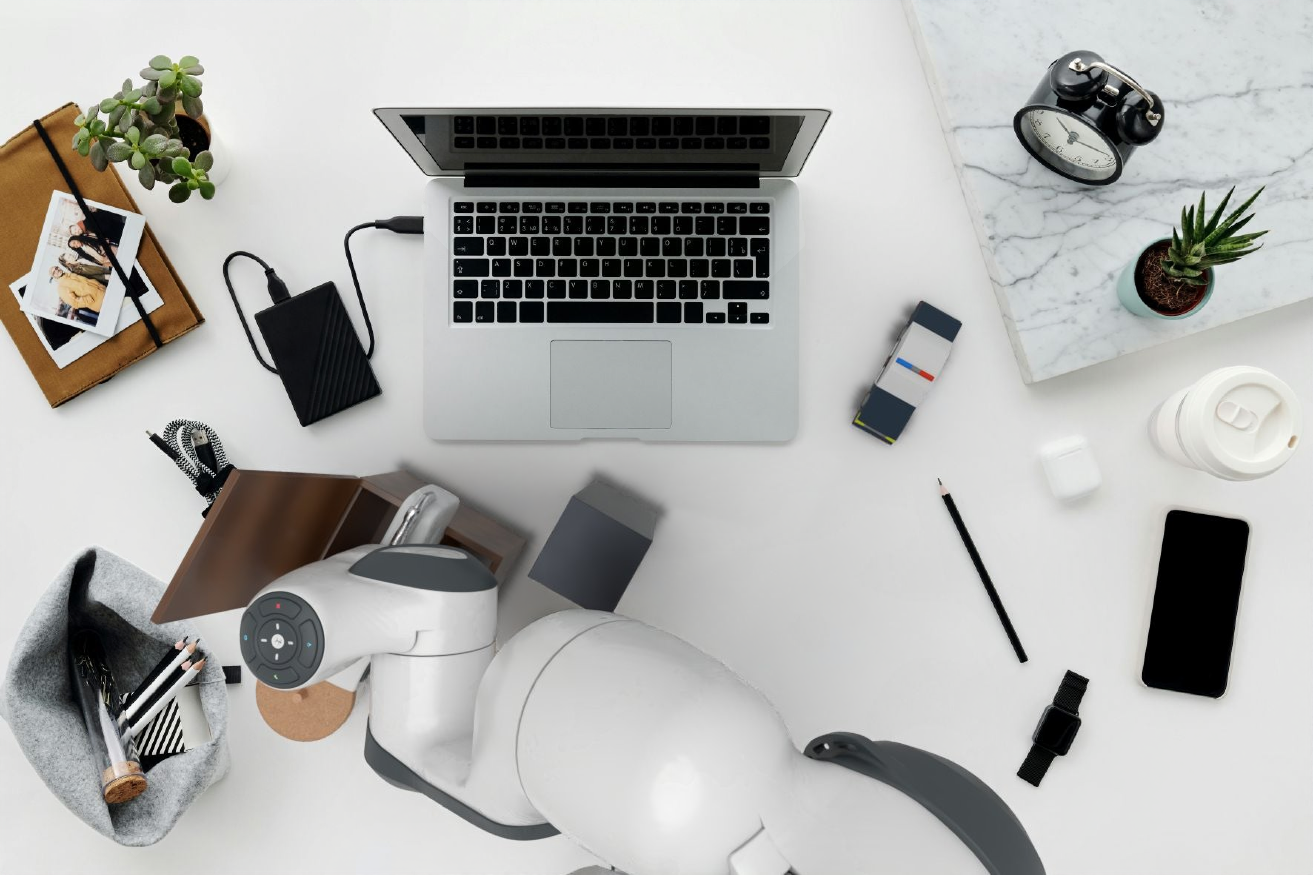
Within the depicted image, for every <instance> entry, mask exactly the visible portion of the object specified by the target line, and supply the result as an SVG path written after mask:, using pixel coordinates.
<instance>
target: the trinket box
mask: <svg viewBox="0 0 1313 875" xmlns="http://www.w3.org/2000/svg"><path fill="white" fill-rule="evenodd" d="M256 679H257V678H256ZM366 682H367V678H366V679H365V681H364V682H363V684H362V685H361V686H360V687H359V688H358V689H357V690H355V691H354V692H350V691H348V690H345V689H343V688H340V687H338V686H336V685H334V684H332V683H330V682H328V681H326V680H324V681H321V682H319V683H317V684H314V685H311V686H308V687H305V688H302V689H298V690H290V691H282V690H277V689H273V688H270V687H268V686H266V685H265V684H263V683H262V682H260V681H259V680H258V679H257V680H256V683H255V701H256V705H257V710H258V711H259V714H260V716H261V717H262V719H263V721H264V722H265V723H266V725H267V726H268V727H269V728H270V729H271V730H272V731H273V732H275V733H276V734H278V735H279V736H281V737H283V738H285V739H288V740H291V741H293V742H299V743H310V742H317V741H319V740H323V739H326V738H327V737H329V736H331V735H333V734H334V733H335V732H336V731H338V730H339V729H340V728H341V727H342V726H343V725H344V724H345V723H346V722H347V720H348V719H349V718H350V717H351V715H353V713H354V712H355V710H356V709H357V707H358V706H359V704H360V702H361V700H362V698H363V696H364V693H365V689H366V684H367V683H366Z"/></svg>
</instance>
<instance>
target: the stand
mask: <svg viewBox="0 0 1313 875" xmlns="http://www.w3.org/2000/svg"><path fill="white" fill-rule="evenodd" d="M656 519H657V512H656V511H655V510H654V509H652V508H650V507H648V506H646V505H644V504H642V503H641V502H639V501H637V500H636V499H634V498H632V497H631V496H628V495H627V494H625V493H623V492H621V491H619V489H616V488H614V487H612V486H611V485H609V484H607V483H606V482H604V481H602V480H600V479H597V478H596V479H594V481H592V482H591V483H589V484H588V485H587V486H585V487H584V488H582V489H581V490H579V491H578V492H576V493H575V494H573V495H572V496H571V497H570V499H569V501H568V503H567V504H566V506H565V508H564V510H563V512H562V513H561V515H560V517H559V519H558V521H557V522H556V524H555V526H554V528H553V529H552V531H551V533H550V535H549V537H548V538H547V540H546V542H545V544H544V545H543V547H542V549H541V551H540V552H539V555H538V557H537V559H536V560H535V562H534V563H533V565H532V567H531V568H530V571H529V572H528V574H527V577H528V578H529V579H531V580H533V581H535V582H537V583H538V584H540V585H541V586H544V587H545V588H547V589H549V590H551V591H552V592H554V593H556V594H558V595H559V596H561V597H563V598H565V599H567V600H568V601H570V602H572V603H574V604H576V605H577V606H579V607H581V608H582V609H588V610H599V611H606V612H611V613H615V612H614V611H615V610H616V608H617V607H618V604H619V603H620V601H621V599H622V598H623V596H624V594H625V592H626V590H627V589H628V586H629V585H630V583H631V581H632V579H633V578H634V576H635V574H636V572H637V570H638V569H639V567H640V565H641V564H642V562H643V560H644V558H645V556H646V555H647V552H648V551H649V549H650V548H651V546H652V544H653V542H654V534H655V527H656V526H655V525H656V521H657V520H656Z"/></svg>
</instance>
